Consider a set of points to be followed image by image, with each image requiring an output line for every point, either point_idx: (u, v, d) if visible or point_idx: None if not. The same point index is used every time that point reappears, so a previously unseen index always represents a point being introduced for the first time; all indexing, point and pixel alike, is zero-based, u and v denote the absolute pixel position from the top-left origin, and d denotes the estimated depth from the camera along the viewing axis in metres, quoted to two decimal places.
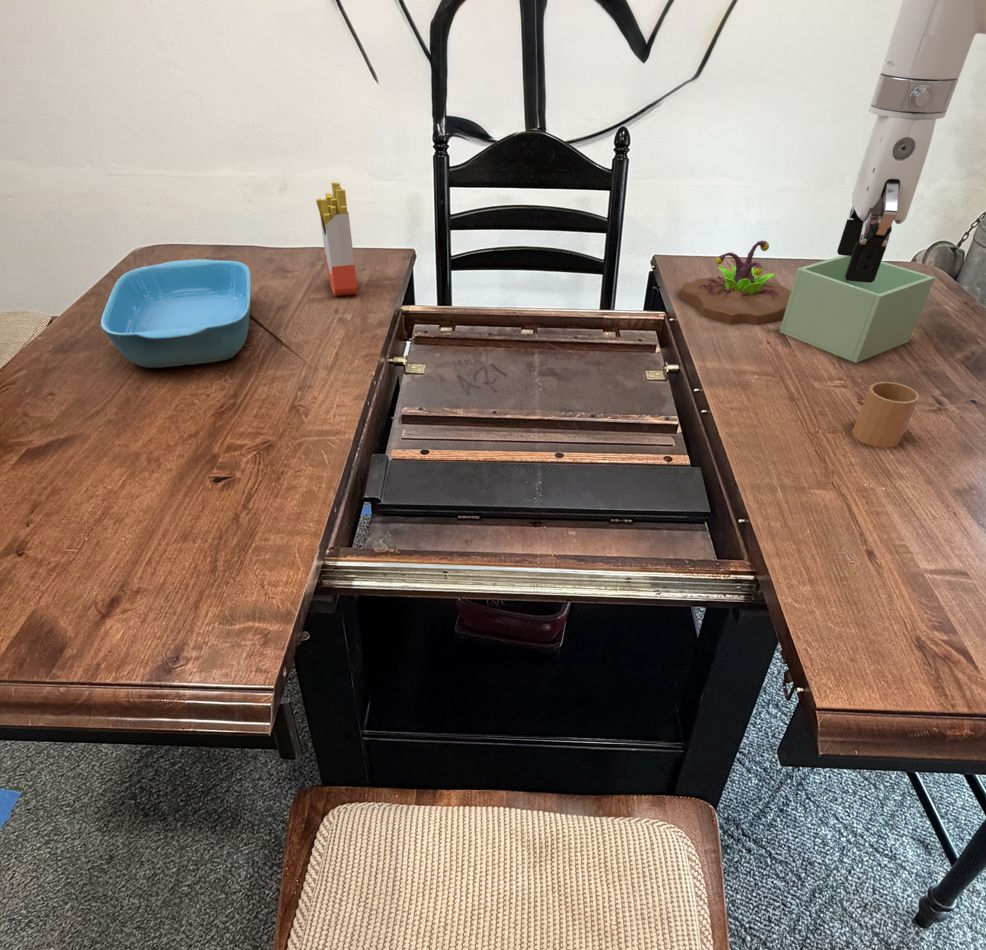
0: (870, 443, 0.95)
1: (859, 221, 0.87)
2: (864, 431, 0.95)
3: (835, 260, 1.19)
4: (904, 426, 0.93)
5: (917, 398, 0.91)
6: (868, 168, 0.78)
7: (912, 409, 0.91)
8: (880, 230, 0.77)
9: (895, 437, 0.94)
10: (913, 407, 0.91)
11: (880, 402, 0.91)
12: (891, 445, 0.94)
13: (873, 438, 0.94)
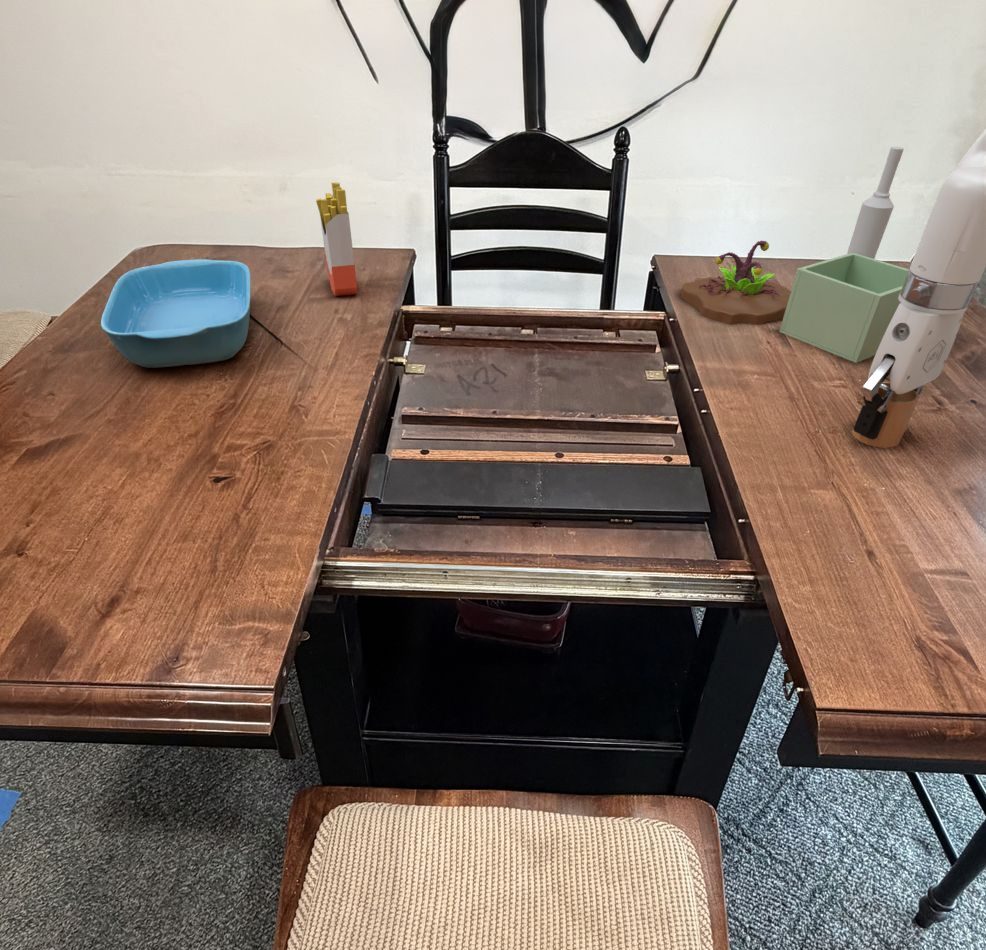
0: (870, 443, 0.95)
1: None
2: None
3: (835, 260, 1.19)
4: (904, 426, 0.93)
5: (917, 398, 0.91)
6: None
7: (912, 409, 0.91)
8: (867, 397, 0.89)
9: (895, 437, 0.94)
10: (913, 407, 0.91)
11: None
12: (891, 445, 0.94)
13: None
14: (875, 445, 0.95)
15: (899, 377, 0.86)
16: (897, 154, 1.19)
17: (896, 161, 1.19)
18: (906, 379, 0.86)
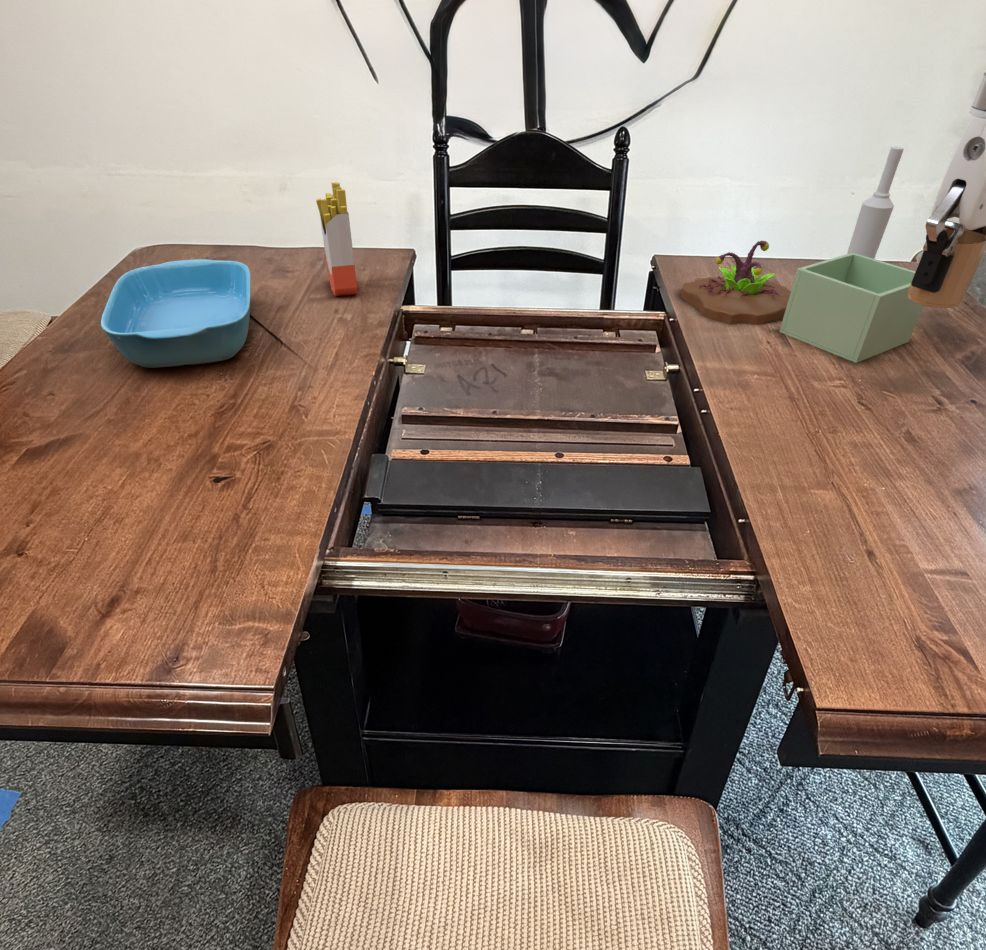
0: (931, 299, 0.83)
1: None
2: None
3: (835, 260, 1.19)
4: (971, 276, 0.81)
5: None
6: None
7: (981, 254, 0.79)
8: (931, 235, 0.77)
9: (960, 290, 0.82)
10: (983, 251, 0.79)
11: None
12: (955, 301, 0.82)
13: None
14: (937, 301, 0.82)
15: (971, 206, 0.74)
16: (897, 154, 1.19)
17: (896, 161, 1.19)
18: (979, 208, 0.74)
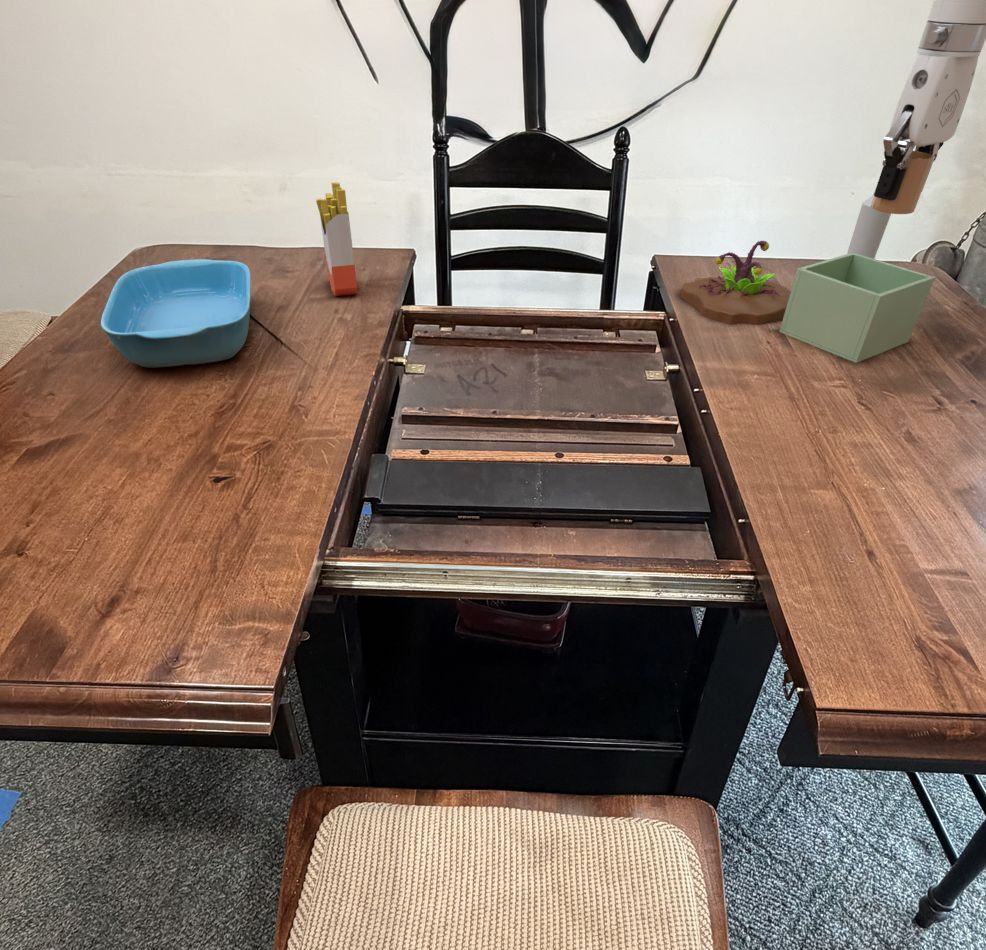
0: (889, 207, 1.04)
1: None
2: None
3: (835, 260, 1.19)
4: (920, 187, 1.02)
5: (932, 157, 1.00)
6: None
7: (928, 168, 1.00)
8: (888, 151, 0.98)
9: (912, 199, 1.02)
10: (929, 165, 1.00)
11: None
12: (908, 208, 1.03)
13: (892, 201, 1.03)
14: (894, 208, 1.03)
15: (918, 125, 0.95)
16: None
17: None
18: (924, 127, 0.95)
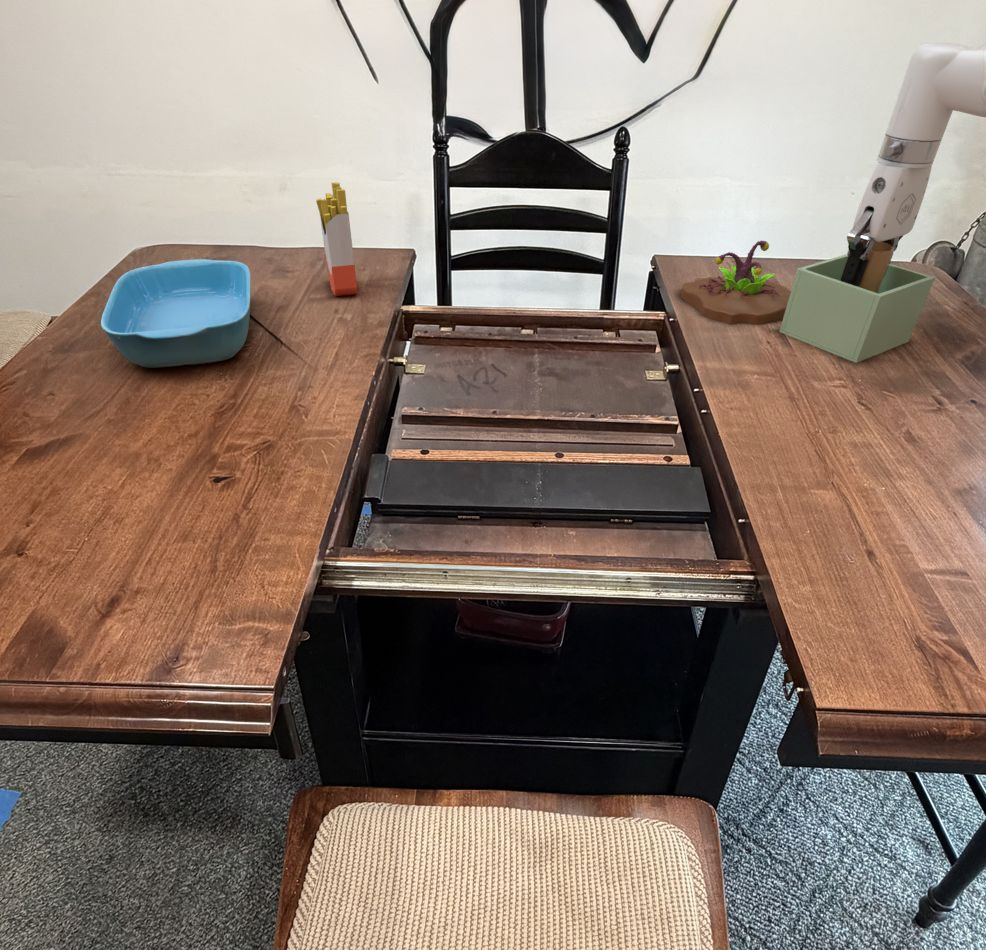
0: None
1: None
2: None
3: (835, 260, 1.19)
4: (882, 275, 1.13)
5: (892, 249, 1.11)
6: None
7: (888, 258, 1.11)
8: (851, 245, 1.09)
9: (874, 284, 1.13)
10: (889, 257, 1.11)
11: None
12: None
13: None
14: None
15: (877, 225, 1.06)
16: None
17: None
18: (883, 227, 1.06)
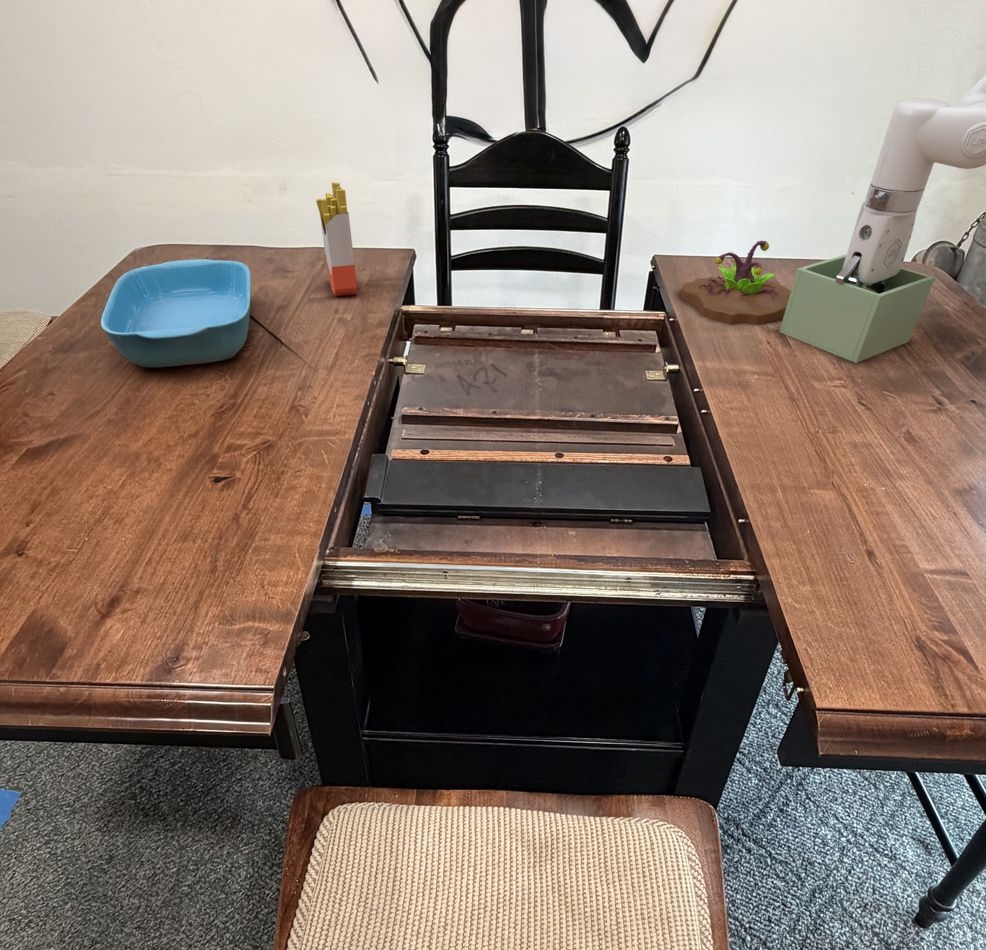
0: None
1: (873, 287, 1.18)
2: None
3: (835, 260, 1.19)
4: None
5: None
6: None
7: None
8: None
9: None
10: None
11: None
12: None
13: None
14: None
15: (865, 270, 1.10)
16: None
17: None
18: (871, 271, 1.10)
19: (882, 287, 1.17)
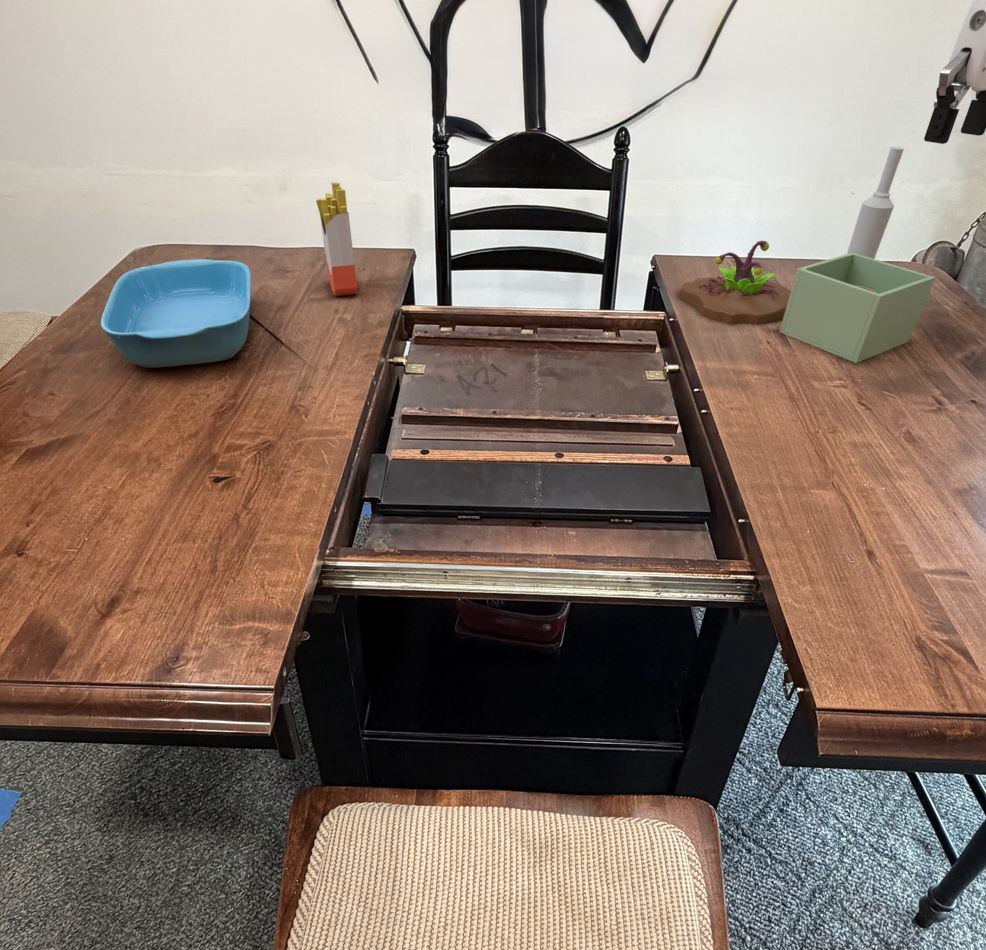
0: None
1: (981, 101, 1.01)
2: None
3: (835, 260, 1.19)
4: None
5: None
6: None
7: None
8: (941, 90, 0.94)
9: None
10: None
11: None
12: None
13: None
14: None
15: (975, 69, 0.92)
16: (897, 154, 1.19)
17: (896, 161, 1.19)
18: (982, 71, 0.93)
19: None
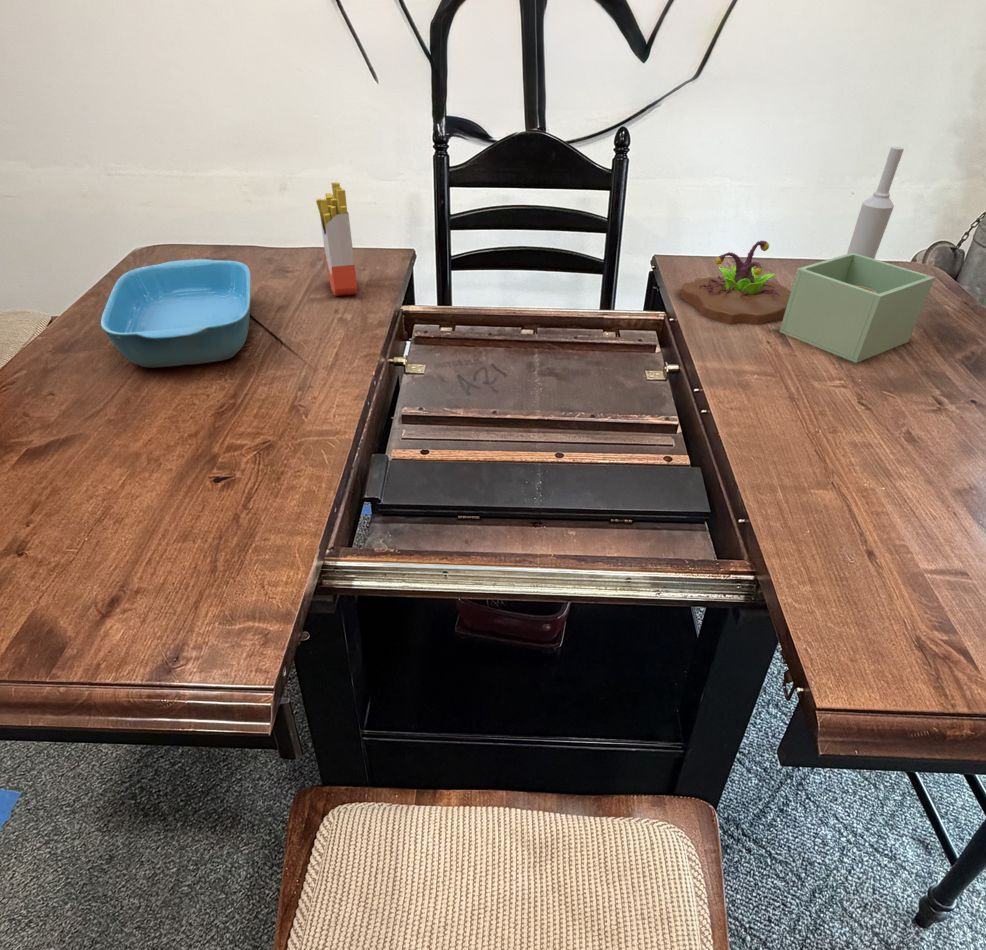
0: None
1: None
2: None
3: (835, 260, 1.19)
4: None
5: None
6: None
7: None
8: None
9: None
10: None
11: None
12: None
13: None
14: None
15: None
16: (897, 154, 1.19)
17: (896, 161, 1.19)
18: None
19: None
